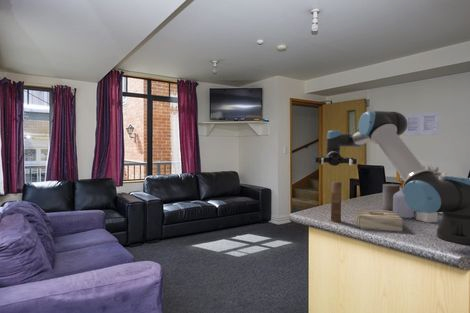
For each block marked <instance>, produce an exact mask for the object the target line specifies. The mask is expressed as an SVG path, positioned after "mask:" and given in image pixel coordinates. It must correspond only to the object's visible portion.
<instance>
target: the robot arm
mask: <svg viewBox="0 0 470 313" xmlns="http://www.w3.org/2000/svg"><path fill="white" fill-rule="evenodd" d="M408 126H409V125H408V119H407V118H406V116H405V115H404V114H403V113H401V112H397V111H384V110H383V111H381V110H380V111H379V110H368V111H367V110H366V111H365V112H363V113H362V114H361V115H360V118H359V120H358V127H357V128H358V131H357V132H354V133H342V131H341V130H328V131H327V135H326V154H325V156H323V155H322V156H318V157H315V163H316V164H317V163H318V164H319V165H324V163H326V164H329V165H330V166H333V167H335V166H339V165H340V164H348V165H349V166H353V165H357V162H358V161H357V159H356V158H354V157H347V156H346V157H344V156H341V147H342V148H343V147H345V148H346V147H351V148H359V147H363V146H364V145H365V144H367V143H371V142H372V144H375V145H378V146H379V147H380V149H381V150H382V152H383V153H384V154H385V156H386V157H387V159H388V161H389V162H390V163H391V164H392V166H393V168H394V170H396V171H397V172H398V173H399V174H400V178H402V180H404V185H403V187H404V189H403V194H404V200H405V202H406V204H407V205H408V206H409V207H410V208H411V209H412V210H414V212H415V213H417V212H420V213H434V212H437V213H442V216H441V219H440V221H439V224H438V227H437V228H436V237H437V238H439V239H442V240H444V241H447V242H450V243H455V244H463V245H470V178H465V177H458V176H457V177H456V176H448V175H446V176H444V178H443V180H442V179H440V178H439V179H438V177H437V176H436V175H435V174H434V173H433V172H432V171H429V170H425V169H426V167H425V166H424V165H422V163H421V162H420V161H419V159H418V158H417V157H416V156H415V154H414V153H413V152H412V151H411V149H410V148H409V147H408V146H407V144H406V143H405V142H404V141H403V139H402V138H401V137H400V136H401V135H403V134H404V133H405V132H406V131H407V129H408ZM423 166H424V167H425V168H424V167H423Z"/></svg>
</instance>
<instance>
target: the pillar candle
mask: <svg viewBox="0 0 470 313" xmlns="http://www.w3.org/2000/svg"><path fill="white" fill-rule="evenodd" d="M400 186H402V184H396V183H393V182H392V183H384V184H382V209H384V211H393V195H394V194H395V193H397V192H399V191H400Z"/></svg>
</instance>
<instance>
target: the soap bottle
mask: <svg viewBox="0 0 470 313" xmlns="http://www.w3.org/2000/svg"><path fill="white" fill-rule="evenodd" d="M395 174H396V175H395V176H396V181H397V182H400V185H402V186H400V191H399V192H397V193H395V194H394V195H393V212H394V213H396V214H397V215H398V216H399V217H401V218H402V219H412V218H413V217H414V212H415V211H414V210H412V209H411V208H410V207H409V206H408V205H407V204H406V202H405V200H404V194H403V189H404V187H403V185H404V180H403V179H402V180H401V179H400V178H401V176H400V174H399V173H398V172H397V170H396V173H395Z"/></svg>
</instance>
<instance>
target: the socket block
mask: <svg viewBox="0 0 470 313" xmlns="http://www.w3.org/2000/svg"><path fill="white" fill-rule="evenodd" d="M403 219H404V218H401V217H399V216H398V215H397V214H396V213H394V212H393V211H390V210H378V209H377V210H376V209H375V210H373V209H372V210H371V209H355V221H356V223H357V225H358V226H359V228H360V229H362V230H375V231H376V230H379V231H392V232H393V231H395V232H403V224H404V223H403Z"/></svg>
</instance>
